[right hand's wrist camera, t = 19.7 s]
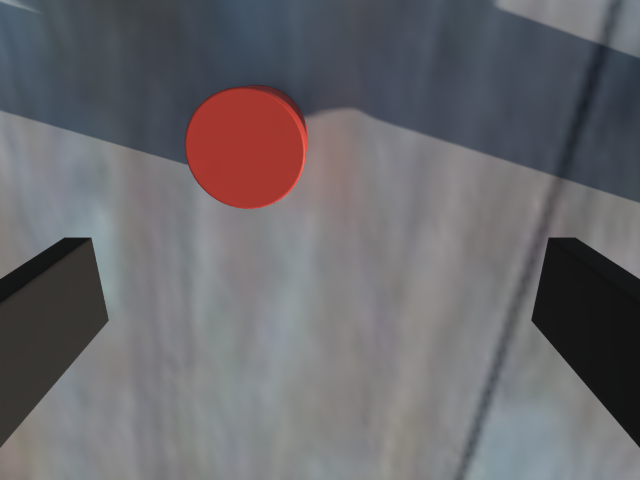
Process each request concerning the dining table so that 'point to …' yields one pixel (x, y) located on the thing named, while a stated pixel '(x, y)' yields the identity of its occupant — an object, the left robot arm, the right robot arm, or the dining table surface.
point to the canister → (247, 145)
